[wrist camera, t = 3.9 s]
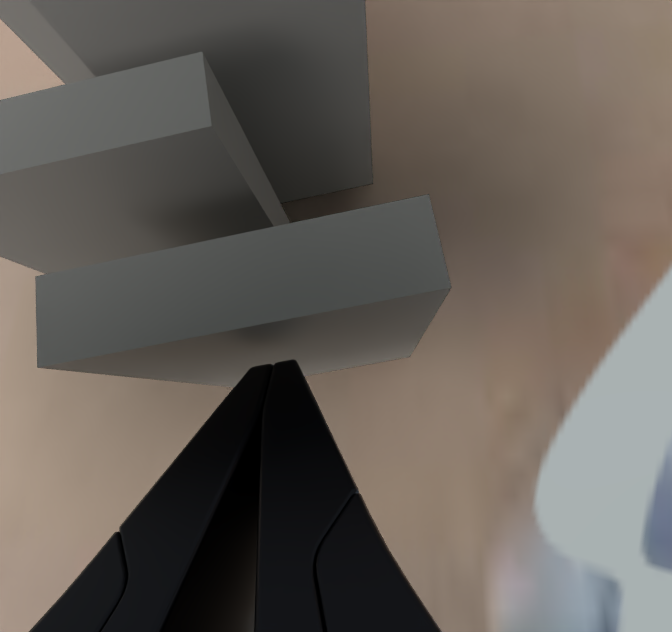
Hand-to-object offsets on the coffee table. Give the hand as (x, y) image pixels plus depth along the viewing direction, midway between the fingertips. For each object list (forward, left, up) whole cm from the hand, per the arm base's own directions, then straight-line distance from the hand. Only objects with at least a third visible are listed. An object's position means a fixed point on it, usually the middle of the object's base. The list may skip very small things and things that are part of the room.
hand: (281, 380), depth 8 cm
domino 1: (+6, -6, -7) cm, 11 cm away
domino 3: (+1, -1, -7) cm, 7 cm away
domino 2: (+5, -1, -7) cm, 9 cm away
